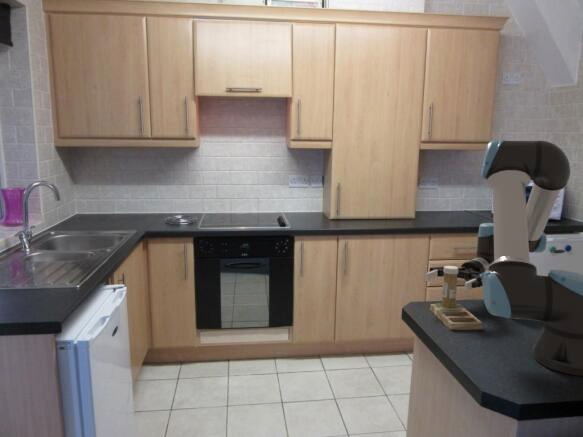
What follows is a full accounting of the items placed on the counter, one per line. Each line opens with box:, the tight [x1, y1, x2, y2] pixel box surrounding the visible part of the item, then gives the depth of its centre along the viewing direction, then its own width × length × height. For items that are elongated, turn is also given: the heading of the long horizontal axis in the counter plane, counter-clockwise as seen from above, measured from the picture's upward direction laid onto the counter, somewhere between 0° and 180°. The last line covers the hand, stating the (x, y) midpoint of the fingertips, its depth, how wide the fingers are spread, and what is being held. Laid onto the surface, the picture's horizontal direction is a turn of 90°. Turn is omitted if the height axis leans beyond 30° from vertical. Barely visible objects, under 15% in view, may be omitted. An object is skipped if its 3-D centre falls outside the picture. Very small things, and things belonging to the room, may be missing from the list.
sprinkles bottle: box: [441, 265, 459, 308], centre depth 145 cm, size 5×5×14 cm
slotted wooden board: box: [430, 302, 484, 331], centre depth 141 cm, size 16×10×2 cm, turn 3°
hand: (445, 282), depth 143 cm, fingers open, 13 cm apart
